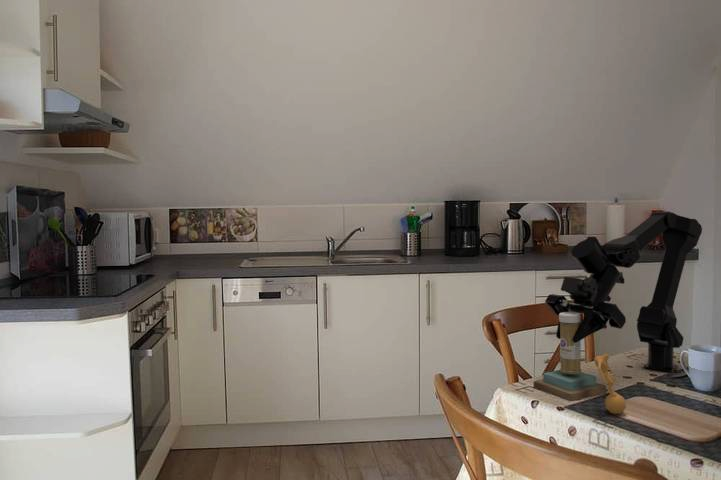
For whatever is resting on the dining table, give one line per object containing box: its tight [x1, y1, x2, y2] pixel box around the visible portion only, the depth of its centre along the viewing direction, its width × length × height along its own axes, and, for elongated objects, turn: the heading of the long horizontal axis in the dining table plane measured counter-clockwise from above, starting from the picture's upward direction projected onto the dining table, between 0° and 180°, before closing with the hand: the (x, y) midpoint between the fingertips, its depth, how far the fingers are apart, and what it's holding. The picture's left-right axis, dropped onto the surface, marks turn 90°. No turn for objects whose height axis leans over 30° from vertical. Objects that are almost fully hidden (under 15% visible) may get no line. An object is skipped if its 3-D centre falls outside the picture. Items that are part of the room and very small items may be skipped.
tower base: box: [533, 369, 607, 402], centre depth 134 cm, size 11×11×4 cm
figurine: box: [593, 353, 627, 415], centre depth 119 cm, size 8×6×12 cm
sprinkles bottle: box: [558, 312, 582, 374], centre depth 133 cm, size 5×5×14 cm
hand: (565, 339), depth 133 cm, fingers open, 4 cm apart
